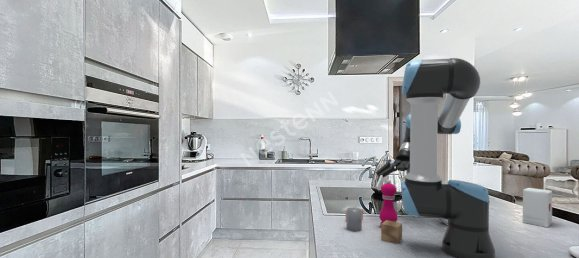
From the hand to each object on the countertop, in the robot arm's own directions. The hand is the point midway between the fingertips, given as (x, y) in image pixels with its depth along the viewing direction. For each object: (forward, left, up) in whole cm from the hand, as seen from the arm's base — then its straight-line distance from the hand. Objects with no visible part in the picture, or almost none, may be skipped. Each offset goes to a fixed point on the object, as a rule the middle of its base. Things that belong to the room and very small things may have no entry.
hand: (392, 190), depth 125 cm
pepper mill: (-1, +5, -15) cm, 16 cm away
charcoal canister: (+8, +17, -15) cm, 24 cm away
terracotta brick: (+14, +7, -15) cm, 22 cm away
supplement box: (-45, -50, -15) cm, 69 cm away
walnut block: (-8, +17, -15) cm, 24 cm away
